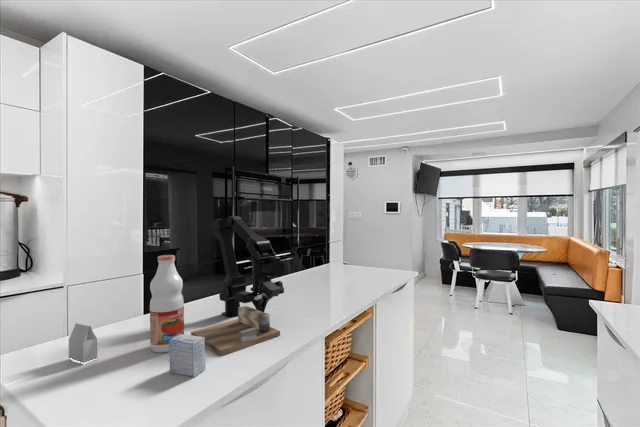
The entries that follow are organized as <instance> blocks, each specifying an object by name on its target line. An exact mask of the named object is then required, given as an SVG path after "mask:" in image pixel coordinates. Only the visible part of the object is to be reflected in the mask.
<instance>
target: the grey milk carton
mask: <svg viewBox="0 0 640 427" xmlns="http://www.w3.org/2000/svg"><path fill="white" fill-rule="evenodd" d="M69 358H72V359H74V360H77V361H80V362H83V363H84V362H87V361H90V360H93V359H96V358H97V359H98V338H97V336H96V335H95V332H94V331H93V329H92V327H91V325H86V324H83V323H78V322H75V324H74V327H73V330H72V332H71V334H70V336H69V338H68V359H69Z"/></svg>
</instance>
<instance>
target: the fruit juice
mask: <svg viewBox="0 0 640 427" xmlns="http://www.w3.org/2000/svg"><path fill="white" fill-rule="evenodd" d="M156 261H157V262H158V266H157V270H156V272H155V275H154V277H153V278H152V279H151V281H150V285H149V290H150V293H151V298H150V301H149V326H150V327H149V331H150V332H149V335H150V336H149V337H150V339H149V341H150V342H149V343H150V350H151V351H152V352H154V353H161V354H162V353H169V340H171V339H172V338H174V337H176V336H178V335H181V334H184V335H185V317H184V316H185V314H184V313H185V306H184V305H185V303H184V302H185V301H184V296H183V294H182V290H183V285H184V283H183V278H182V277H181V276H180V275H179V273H178V271H177V268H176V265H175V261H176V255H174V254H163V255H159V256H157V260H156Z"/></svg>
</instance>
